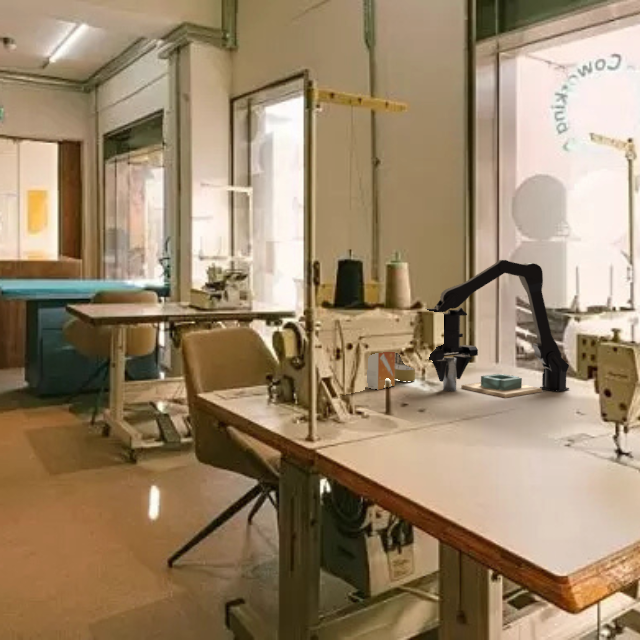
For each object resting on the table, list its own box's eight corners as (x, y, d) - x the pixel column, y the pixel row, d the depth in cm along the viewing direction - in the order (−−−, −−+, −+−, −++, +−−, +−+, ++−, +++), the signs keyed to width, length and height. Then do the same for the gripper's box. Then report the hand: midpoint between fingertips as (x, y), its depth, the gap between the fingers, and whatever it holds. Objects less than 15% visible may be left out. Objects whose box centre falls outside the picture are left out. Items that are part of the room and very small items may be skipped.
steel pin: (459, 390, 230) (459, 358, 229) (449, 391, 228) (449, 359, 227) (449, 388, 233) (450, 356, 232) (440, 389, 231) (440, 357, 230)
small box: (378, 390, 230) (378, 348, 229) (363, 387, 235) (363, 346, 234) (395, 387, 236) (395, 346, 235) (380, 384, 240) (380, 344, 239)
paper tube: (414, 379, 249) (415, 304, 247) (415, 382, 243) (416, 306, 240) (394, 378, 250) (394, 304, 248) (394, 382, 243) (394, 306, 241)
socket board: (541, 391, 227) (541, 378, 227) (505, 397, 218) (505, 384, 218) (496, 382, 242) (497, 370, 242) (461, 388, 233) (461, 375, 233)
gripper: (453, 325, 241) (453, 373, 242) (410, 329, 230) (409, 379, 232) (479, 328, 231) (478, 378, 233) (434, 333, 221) (434, 385, 222)
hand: (449, 380), depth 230 cm, fingers open, 7 cm apart
